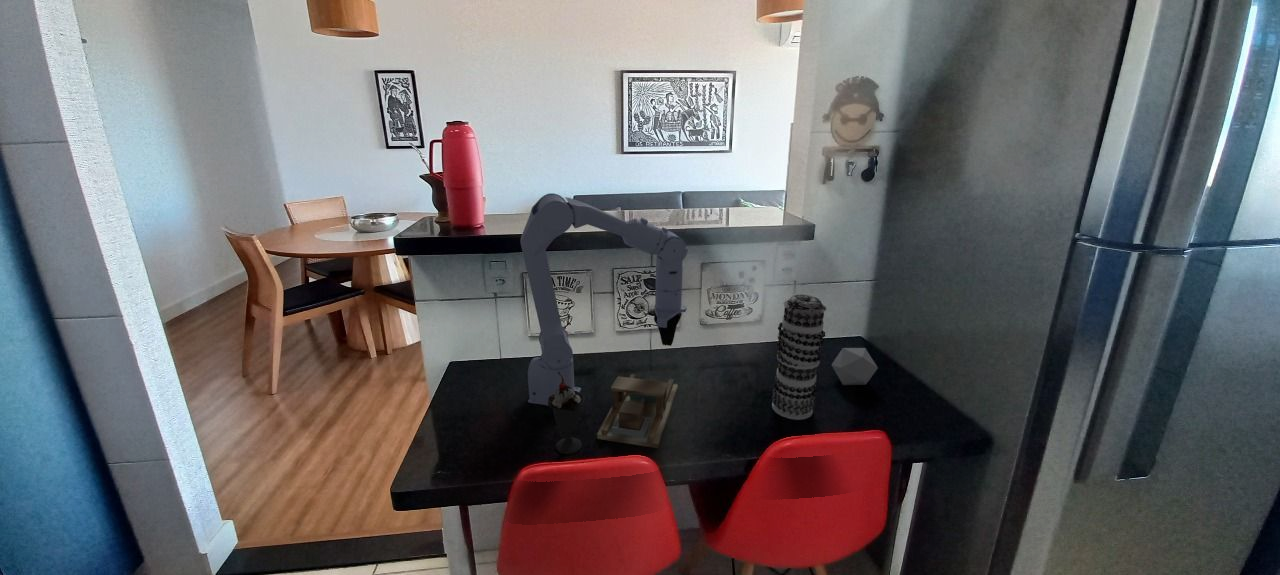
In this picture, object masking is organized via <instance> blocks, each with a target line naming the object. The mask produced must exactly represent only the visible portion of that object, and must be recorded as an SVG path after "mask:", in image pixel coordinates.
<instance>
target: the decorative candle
mask: <svg viewBox="0 0 1280 575" xmlns="http://www.w3.org/2000/svg"><path fill="white" fill-rule="evenodd" d="M783 306H784V311H783V316H782V318H781V320H782V321H781V322H779V324H778V327H777V329H778V335H777V339H778V341H777V342H776V345H777V351H776V357H777V360H778V365H777V366H778V367H777V368H776V374H775V376H774V378H773V380H774V383H773V386H774V388H773V389H772V397H771V400H772V403H771V408H772V410H773V411H774V412H775V413H776V414H777V415H779V416H781V417H782V418H786V419H788V420H789V419H790V420H795V421H799V420H806V419H808V418H810V417H812V415H813V412H814V411H813V410H814V407H815V402H814V401H815V400H816V397H815V394H816V393H817V389H816V388H817V386H818V383H817V373H816V372H817V369H818V368H817V367H818V366H819V365H820V363H821V359H822V355H821V354H822V353H823V347H822V345H824V343H825V339H824V337H826V331H824V325H825V323H824V317H825V312H826V310H827V307H826V305H824V304H823V303H822V301H821V299H820V298H818V297H817V296H813V295H810V294H795V295H792V296H791V297H790V298H789V299H788V300H785V301H784V302H783Z"/></svg>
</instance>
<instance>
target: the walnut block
mask: <svg viewBox="0 0 1280 575" xmlns="http://www.w3.org/2000/svg"><path fill="white" fill-rule="evenodd" d="M643 422H644V403H638V402H631V401H624V402H623V404H622V406H621V408H620V410H619V428H625V429H632V430H638V431H640V429H641V427H642V424H643Z"/></svg>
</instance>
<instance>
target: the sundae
mask: <svg viewBox="0 0 1280 575" xmlns="http://www.w3.org/2000/svg"><path fill="white" fill-rule="evenodd" d="M558 374H559V375H560V372H558ZM560 376H561V375H560ZM561 377H562V376H561ZM583 395H584V394H582V393H581V392H577V391H574V390H573V389H572V388H571V387H569V386H566V383H564V379H563V377H562V383H560V385H559V389H558V390H557V391H556V393H555V394H553V395H551V396H550V397H549V398H548V405H547V406H548V407H549V408H550V409H552V410H553V415H554V420H555V424H556V426H557V428H558V430H560V431H561V432H564V436H565V437H564V438H561V439H560V440H559V441H558V442H557V443H556V444H555V449H556V451H557V452H558V453H560V454H563V455H572V454H576V453H577V452H579V451H580V450H581V449H582V447H583V443H582V441H581V440H580V439H579V438H576V437H573V435H572V432H573V431H575V429H576V428H577V427H578V426H579V422H580V413H581V407H582V405H583V404H584V402H585V399H586V398H585V396H583Z"/></svg>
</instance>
